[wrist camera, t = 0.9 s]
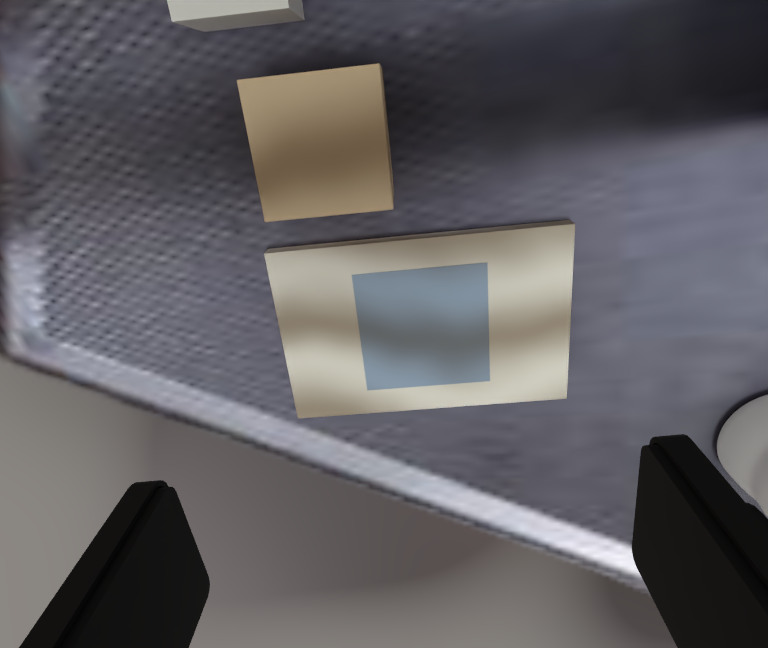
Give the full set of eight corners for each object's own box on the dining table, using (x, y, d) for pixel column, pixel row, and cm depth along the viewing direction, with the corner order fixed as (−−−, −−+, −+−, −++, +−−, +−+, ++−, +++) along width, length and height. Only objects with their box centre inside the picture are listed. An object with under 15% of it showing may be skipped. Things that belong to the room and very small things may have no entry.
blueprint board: (268, 248, 29) (263, 253, 28) (569, 219, 28) (575, 224, 27) (300, 409, 34) (298, 418, 33) (561, 390, 33) (566, 398, 32)
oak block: (265, 82, 26) (236, 79, 21) (382, 69, 25) (379, 63, 21) (286, 201, 28) (264, 221, 24) (393, 190, 28) (393, 209, 23)
